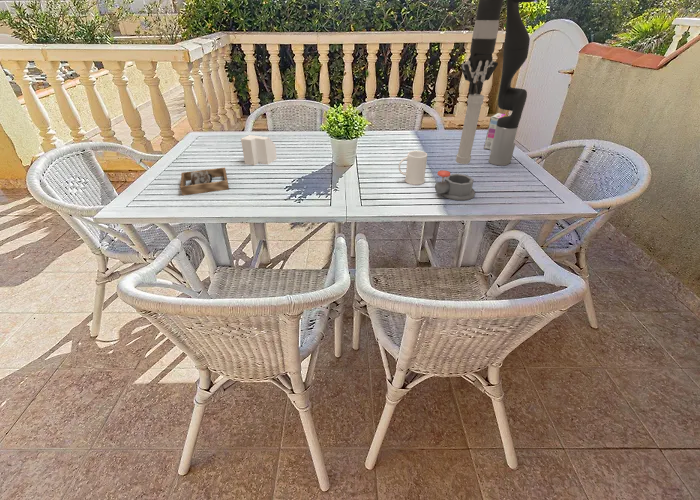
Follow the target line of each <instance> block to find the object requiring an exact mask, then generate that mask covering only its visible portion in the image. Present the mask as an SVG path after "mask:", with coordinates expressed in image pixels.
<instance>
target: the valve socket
mask: <svg viewBox="0 0 700 500" xmlns="http://www.w3.org/2000/svg"><path fill="white" fill-rule="evenodd" d="M437 176H439V177H440V178H441V181H439V182H436V183H435V185H434V189H435V192H436V194H438V195H440V196H442V197H443V198H445V199H447V200H452V201H457V202H458V201H459V202H460V201H461V202H463V201H465V202H466V201H469V200H472V199H473V198H475V195H476V190H475V189H474V188H473V185H474V178H472V177H470V176H469V175H467V174H462V173H461V174H460V173H452V174H451V171H449V170H442V169H441V170H440V169H439V170H438V171H437Z"/></svg>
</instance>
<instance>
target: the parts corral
mask: <svg viewBox="0 0 700 500" xmlns="http://www.w3.org/2000/svg"><path fill="white" fill-rule="evenodd" d="M202 171H208V174H211V175H212V179H213V178H219V177H223V178H224V180H220V181H213V182H212V181H210V182H209V183H203V184H195V185H192V184H191V185H189V184H188V185H187V181H191V172H202ZM180 173H181V175H180V185H179V186H180V192H181V194H182V196H188V195H189V196H190V195H196V194H204V193H210V192H211V193H212V192H217V191H226V190H230V187H229V182H228V181H229V180H228V175H227V170H226V167H219V168H208V169H202V170H192V171H184V172H180Z"/></svg>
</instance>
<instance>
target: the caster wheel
mask: <svg viewBox="0 0 700 500" xmlns="http://www.w3.org/2000/svg"><path fill="white" fill-rule="evenodd" d="M190 172H191V171H190ZM212 181H213V178H212V175H211V174H208V171H202V172H191V180H190V182H191V185H195V184H203V183H211V182H212Z"/></svg>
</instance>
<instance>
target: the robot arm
mask: <svg viewBox="0 0 700 500" xmlns="http://www.w3.org/2000/svg"><path fill="white" fill-rule="evenodd" d="M534 1H536V0H506V19H505V21H506V23H505V33H504V34H505V36H504V44H503V52H502V53H503V54H502V70H501V79H500V83H499V84H500V85H499V89H498V90H499V91H498V96H497V106H498V108H499V109H501V110H505V111H510V112H511V114H510V115H508V116H507V115H506V117H501V118H499V119H498V121H497V125H496V129H495V134H494V139H493V143H492V148H491V150H490V152H489V158H488V162H489V164H491V165H496V166H503V167H504V166H507V165H509V164H511V162H512V158H513V155H514V150H515V147H516V143H515V140H516V136H517V132H518V128H519V124H520V121H521V119H522V114H523V111H524V108H525V104H526V102H527V98H528V92H527V89H523V88H519V87H518V88H517V87H512V86H511V85H512V80H513V78H514V76H515V74H516V73H517V72H518V71H519V70H520V68H521V67H522V66H524V63H525V62H526V60H527V58H528V56H529V55H528V54H529V48H530V34H529V33H528V29H527V27H526V26H525V24H524V22H523V20H522V17H521V14H520V5H519V4H520V3H521V4H522V3H533V2H534ZM504 2H505V1H504V0H479V1H478V5H477V12H476V17H475V22H474V26H473V31H472V38H471V43H470V48H469V49H470V50H469V53H470V55H469V57H468V60H467V61H466V62H462V63H461V65H460V67H461V71H462V74H463V78H464V80H465V81H467V82H469V85H468V95H469V94H471V95H474V94H476V93H477V94H481V93H482V91H483V85H484V83H485V82H486V81H488V80H490V78H491V77H492V75H493V73H494V72H495V70H496V68H497V67H498V65H499V63H498V62H497V61H495V60H494V59H493V57H494V56H493V53H494V52H495V47H496V43H497V37H498V32H499V25H500V24H499V23H500V19H501V11H502V7H503V3H504ZM476 86H477V89H476Z"/></svg>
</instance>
